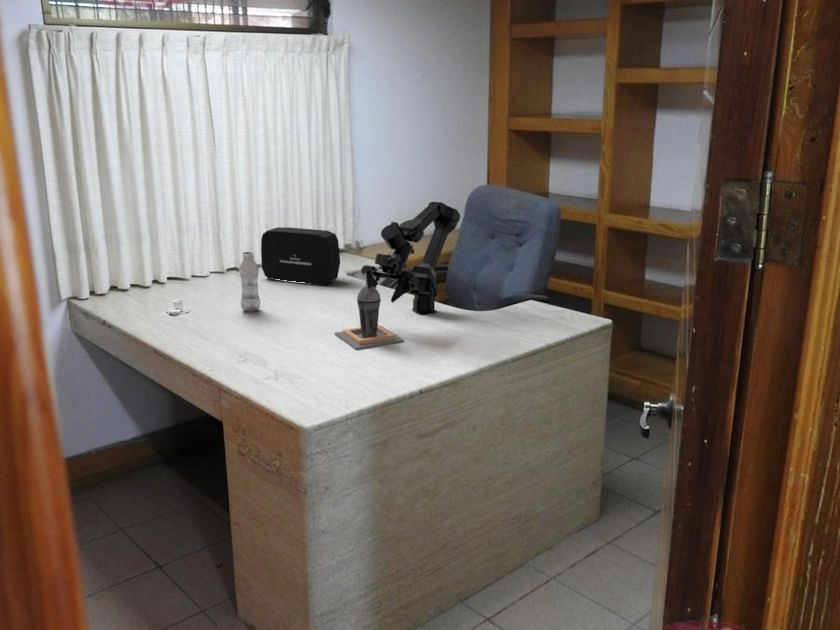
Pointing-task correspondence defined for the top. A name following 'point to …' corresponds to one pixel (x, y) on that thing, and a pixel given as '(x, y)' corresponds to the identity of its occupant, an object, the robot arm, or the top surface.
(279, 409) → the top surface
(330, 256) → the black hard case
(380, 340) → the cup dock
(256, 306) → the plastic bottle
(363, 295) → the beverage cup
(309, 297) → the top surface
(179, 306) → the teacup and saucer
